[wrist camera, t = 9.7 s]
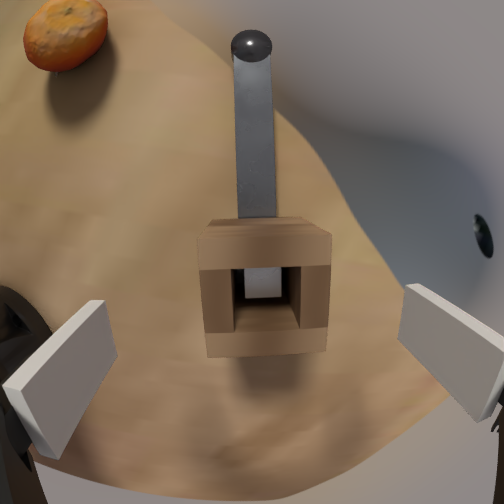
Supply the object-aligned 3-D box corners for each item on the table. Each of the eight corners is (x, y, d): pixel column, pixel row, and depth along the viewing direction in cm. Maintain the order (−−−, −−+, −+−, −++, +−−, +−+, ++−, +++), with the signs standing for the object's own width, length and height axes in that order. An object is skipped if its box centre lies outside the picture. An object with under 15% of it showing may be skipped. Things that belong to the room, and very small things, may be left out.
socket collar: (217, 302, 23) (207, 357, 16) (212, 219, 22) (196, 239, 14) (300, 299, 24) (325, 351, 16) (300, 216, 22) (331, 234, 14)
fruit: (25, 45, 18) (20, -4, 11) (93, 24, 22) (105, -26, 15) (33, 104, 20) (23, 58, 13) (108, 78, 24) (121, 30, 17)
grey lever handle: (227, 290, 26) (222, 326, 19) (219, 41, 21) (213, -2, 14) (288, 287, 26) (304, 322, 19) (280, 40, 21) (293, -2, 14)
